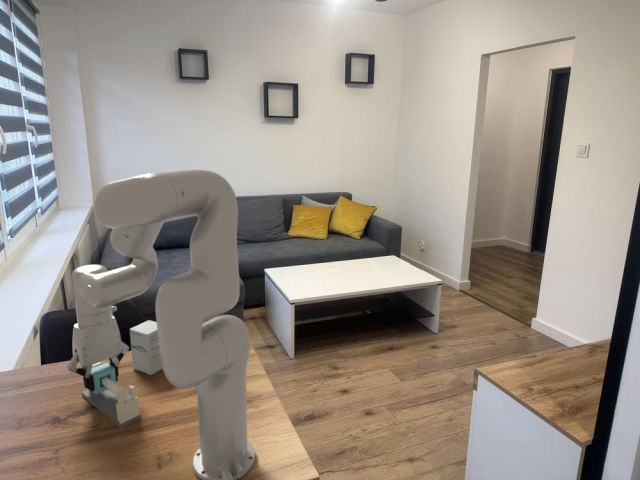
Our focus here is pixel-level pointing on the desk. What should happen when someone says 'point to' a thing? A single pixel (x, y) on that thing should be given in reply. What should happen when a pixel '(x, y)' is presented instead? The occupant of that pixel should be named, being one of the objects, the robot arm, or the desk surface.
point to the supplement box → (145, 347)
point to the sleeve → (101, 372)
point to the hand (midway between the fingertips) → (102, 383)
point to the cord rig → (115, 402)
